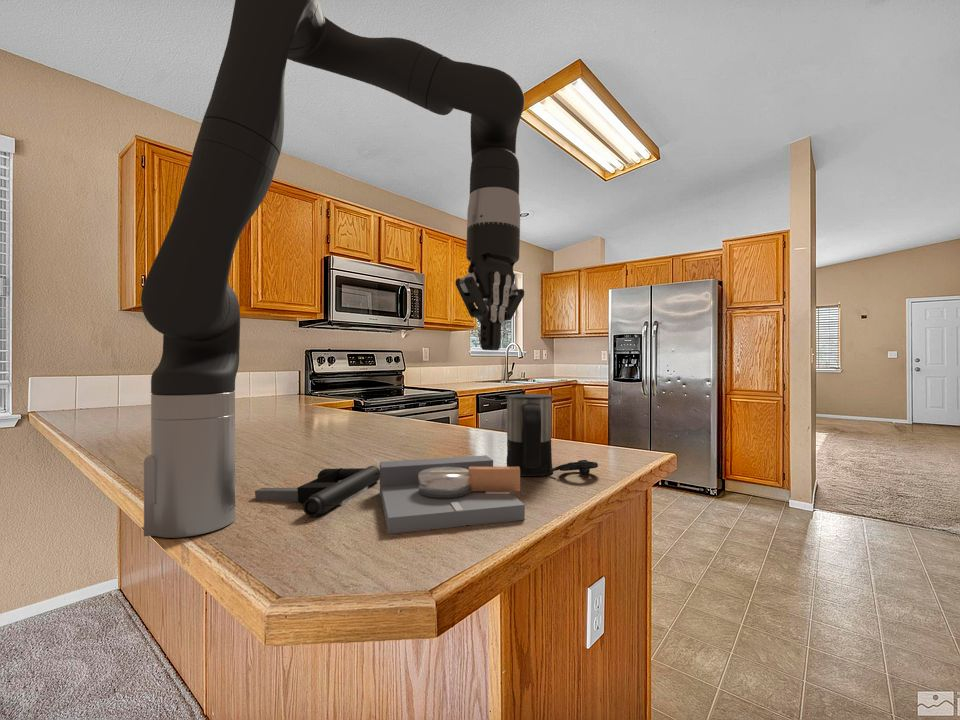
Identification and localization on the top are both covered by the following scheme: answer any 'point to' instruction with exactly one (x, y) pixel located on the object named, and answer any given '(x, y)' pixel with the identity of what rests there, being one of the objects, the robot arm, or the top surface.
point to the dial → (467, 480)
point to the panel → (426, 513)
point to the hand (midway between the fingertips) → (490, 349)
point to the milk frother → (534, 436)
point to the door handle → (325, 489)
